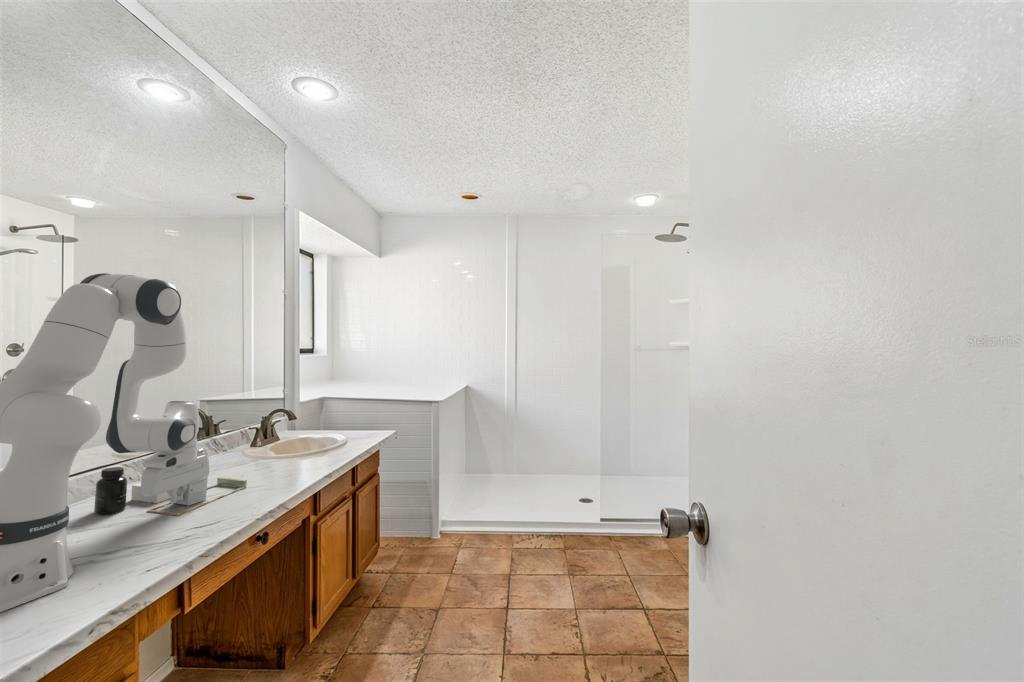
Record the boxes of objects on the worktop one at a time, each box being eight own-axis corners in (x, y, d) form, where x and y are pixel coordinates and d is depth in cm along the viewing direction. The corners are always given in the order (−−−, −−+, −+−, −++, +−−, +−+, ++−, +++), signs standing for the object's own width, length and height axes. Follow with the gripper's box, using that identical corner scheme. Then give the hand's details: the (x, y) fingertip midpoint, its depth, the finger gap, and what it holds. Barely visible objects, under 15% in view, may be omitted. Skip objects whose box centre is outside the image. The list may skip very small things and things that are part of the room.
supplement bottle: (127, 511, 132) (129, 469, 132) (95, 517, 127) (98, 473, 127) (123, 504, 136) (126, 464, 136) (92, 510, 131) (95, 468, 131)
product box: (187, 506, 138) (189, 481, 138) (172, 503, 139) (174, 478, 139) (206, 500, 143) (208, 476, 144) (191, 497, 145) (193, 474, 145)
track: (178, 515, 131) (178, 507, 131) (146, 512, 132) (146, 503, 132) (246, 487, 157) (246, 480, 157) (219, 484, 159) (219, 477, 159)
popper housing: (157, 503, 139) (157, 488, 139) (131, 500, 140) (132, 485, 140) (182, 493, 148) (183, 479, 148) (158, 490, 149) (158, 477, 149)
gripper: (198, 446, 147) (196, 489, 147) (137, 462, 126) (134, 512, 126) (216, 448, 146) (213, 491, 146) (157, 464, 126) (154, 515, 125)
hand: (176, 501), depth 136 cm, fingers closed
